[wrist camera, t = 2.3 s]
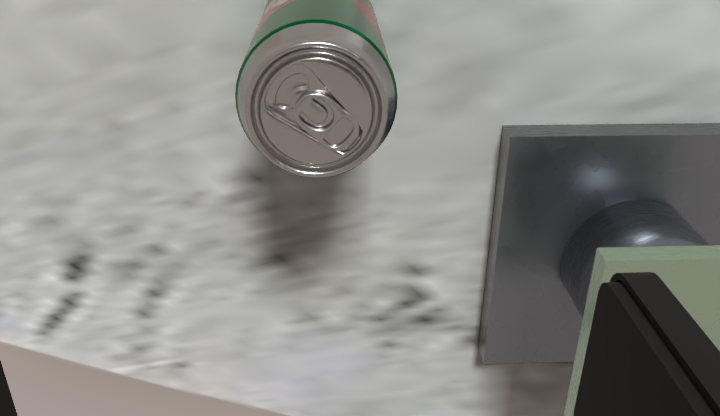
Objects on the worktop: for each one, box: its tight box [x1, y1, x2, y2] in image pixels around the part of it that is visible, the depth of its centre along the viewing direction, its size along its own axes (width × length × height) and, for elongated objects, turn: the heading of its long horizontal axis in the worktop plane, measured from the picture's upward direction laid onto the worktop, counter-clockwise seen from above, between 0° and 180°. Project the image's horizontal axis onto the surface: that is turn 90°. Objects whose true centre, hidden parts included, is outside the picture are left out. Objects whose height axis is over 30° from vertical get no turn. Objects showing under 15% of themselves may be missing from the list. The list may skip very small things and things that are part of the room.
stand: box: [478, 123, 720, 416], centre depth 33 cm, size 14×14×10 cm
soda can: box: [235, 0, 397, 178], centre depth 25 cm, size 5×5×12 cm
